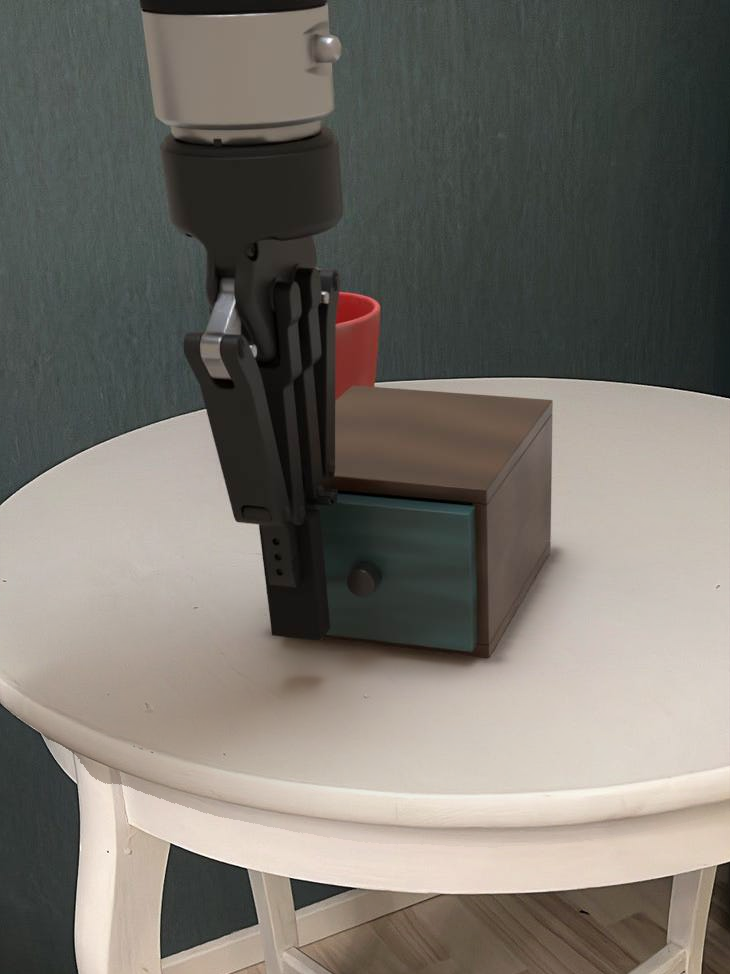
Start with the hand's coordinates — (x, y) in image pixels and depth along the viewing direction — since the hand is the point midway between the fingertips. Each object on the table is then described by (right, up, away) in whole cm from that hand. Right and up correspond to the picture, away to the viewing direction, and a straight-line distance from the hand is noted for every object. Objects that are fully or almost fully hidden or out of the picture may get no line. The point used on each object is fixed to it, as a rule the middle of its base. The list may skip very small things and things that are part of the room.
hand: (301, 631), depth 71 cm
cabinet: (+6, +4, +10) cm, 13 cm away
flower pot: (-3, +20, +32) cm, 37 cm away
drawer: (+5, +4, +8) cm, 10 cm away
